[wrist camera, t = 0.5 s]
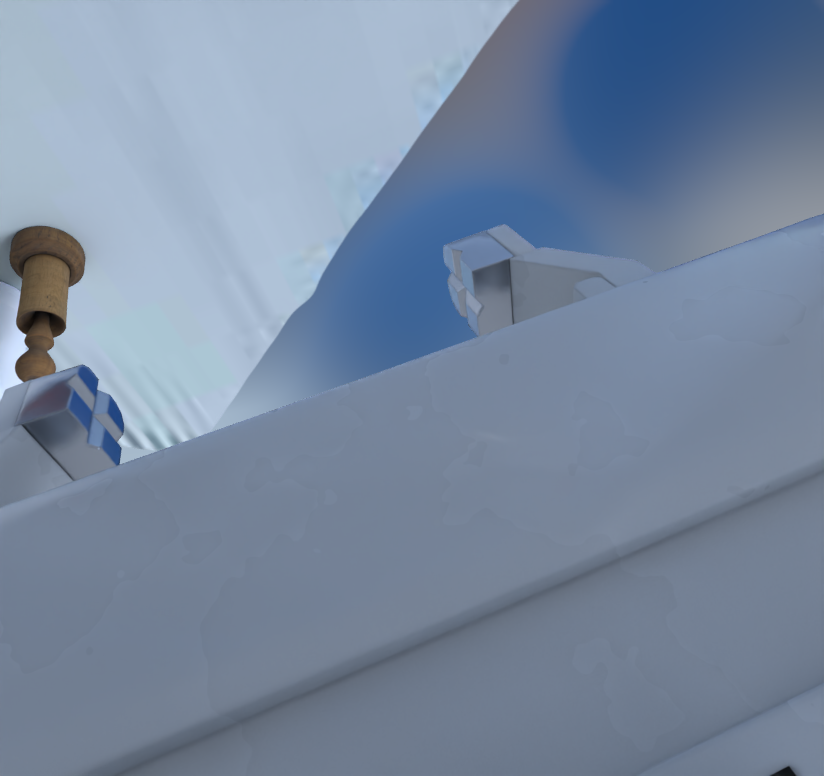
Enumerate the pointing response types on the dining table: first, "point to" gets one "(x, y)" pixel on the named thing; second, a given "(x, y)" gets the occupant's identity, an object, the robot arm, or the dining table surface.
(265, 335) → the dining table surface
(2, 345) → the bottle
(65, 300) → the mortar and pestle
